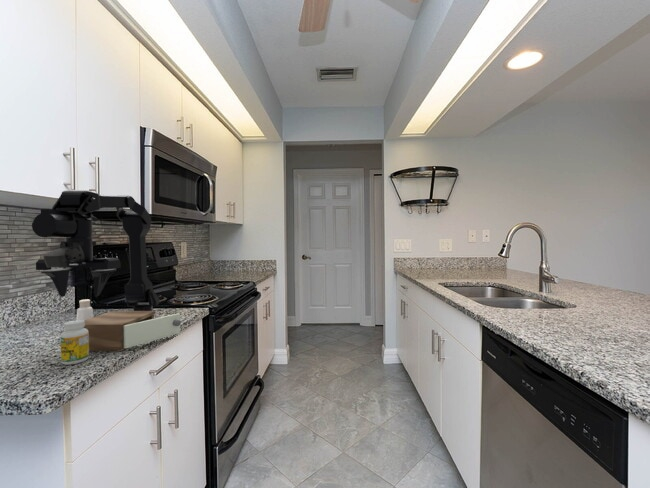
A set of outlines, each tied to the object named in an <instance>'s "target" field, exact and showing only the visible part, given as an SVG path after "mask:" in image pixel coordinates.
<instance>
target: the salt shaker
mask: <svg viewBox="0 0 650 488" xmlns="http://www.w3.org/2000/svg"><path fill="white" fill-rule="evenodd" d="M78 301H79V302H78V303H79V308H77V310H76V318H75V320H86V319H89V318H92V317H95V316H94V310H93V307H92V306H91V299H88V298H87V299H86V298H85V299H81V300H78Z"/></svg>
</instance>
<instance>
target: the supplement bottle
mask: <svg viewBox="0 0 650 488" xmlns="http://www.w3.org/2000/svg"><path fill="white" fill-rule="evenodd" d="M84 326H85V321H84V320H76V319H75V320H71V321H66V322H64V323H63V329H64V331H62V333H61V334H60V337H59V338H60V363H62V365H66V366H68V365H69V366H70V365H75V364H79V363H83V362H86V361H87V360H89V357H90V351H89V332H88V330H87V329H86V328H84Z"/></svg>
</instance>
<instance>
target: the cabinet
mask: <svg viewBox="0 0 650 488" xmlns="http://www.w3.org/2000/svg"><path fill="white" fill-rule="evenodd" d="M155 315H156V311H155V310H153V311H134V310H112V311H108V312H105V313H102V314H99V315H96V316H94V317H92V318H89V319H86V320H84V321H85V326H84V328H86V329H87V330H88V332H89V352H92V351H95V352H98V351H101V352H102V351H105V352H107V351H114V352H115V351H124V350H126V349H127V348H124V325H129V324H133V323H138V322H142V321H146V320H151V319H155V317H154V316H155Z"/></svg>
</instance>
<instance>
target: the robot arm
mask: <svg viewBox="0 0 650 488" xmlns="http://www.w3.org/2000/svg"><path fill="white" fill-rule="evenodd" d="M104 208H105V209H107V208H108V209H109V208H111V209H112V208H115V209H116V217H117V218H118V219H119V220H120V222H121V225H122V229H123V231H124V232H125V234H126V235H127V236H128V246H129V250H128V252H129V269H130V272H129V273H130V279H129V281H128V282H127V283H125V284H124V285H123V289H124V290H123V291H124V294H123V296H124V298H125V302H126V306H127V307H128V308H132V309H133V311H154V310H153V307H155V306H156V307H158V305H159V303H160V302H159V301H160V297H158V294H157V293H156V292H155V290H154V285H153V283H152V282H151V279H149V277H148V269H147V268H148V267H147V266H148V265H147V248H146V247H147V242H146V236H147V234H148V233H149V231H151V230H150V229H151V222H152V217H151V215H150V214H149V212H148V209H147V208H146V207H145V206H143V205H142V204H140V203H139V202H137V201H136V200H135V198H134V197H133V196H131V195H104V194H103V195H102V194H99V193H98V192H95V191H92V190H64V191H61V193H60V196H59V198H57V200H56V201H55V203H54V204H53V206H52V207H51V208H40V213H39V214H38V215H36V216H35V217H34V218H33V222H31V227H32V232H33V233H34V235H36V236H38V237H40V238H64V241H60V243H59V248H57V249H53V250H51V251H49V252H47V253H45V254H43V256H42V257H43V258H41V259H40V258H39V259H38V260H37V261H36V262H35V270H36V271H40V273H41V274H45V275H46V276H47V277H49V278H50V280H51V281H52V282H53V284H54V286H55V288H56V291H57V293H58V294H59V296H60V298H62V297H63V298H64V297H66V295H67V290H68V284H69V276H70V269H68V268H91V269H93V270H91V271H90V274H91V276H92V277H93V293H94V294H93V295H94V297H96V298H97V297H99V296H100V295H101V293H102V291H103V290H104V288H105V285H106V283H107V282H108V280H109V278H110V276H111V275H112V274H113V272H116V271H117V269H120V268H121V267H122V265H121V261H120V259H119V258H118V257H102V258H97V256H94V255H93V254H94V253H93V247H94V246H97V241H93V222H98V221H99V219H98V218H97V217H96V216H94V215H93V212H96V211H99V210H101V209H104ZM124 209H129V210H126V211H125V210H124ZM66 268H67V269H66Z"/></svg>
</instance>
